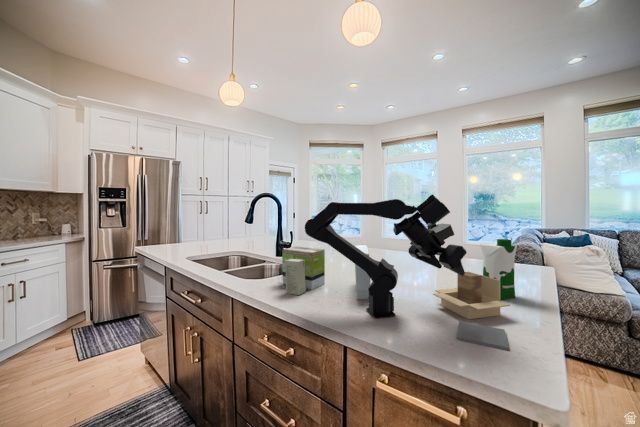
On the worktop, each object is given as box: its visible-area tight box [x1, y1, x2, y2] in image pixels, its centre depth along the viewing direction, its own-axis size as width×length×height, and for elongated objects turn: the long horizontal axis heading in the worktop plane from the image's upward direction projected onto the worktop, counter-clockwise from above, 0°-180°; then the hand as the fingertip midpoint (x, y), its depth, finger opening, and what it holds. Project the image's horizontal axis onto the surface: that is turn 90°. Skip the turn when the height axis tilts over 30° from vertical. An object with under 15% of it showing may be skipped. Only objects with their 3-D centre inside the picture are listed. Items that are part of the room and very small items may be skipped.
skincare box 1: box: [285, 259, 307, 296], centre depth 98 cm, size 6×4×12 cm
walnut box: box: [457, 271, 483, 304], centre depth 80 cm, size 4×5×11 cm
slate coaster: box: [456, 320, 510, 351], centre depth 64 cm, size 10×10×1 cm
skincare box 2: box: [354, 244, 371, 301], centre depth 100 cm, size 21×5×16 cm, turn 172°
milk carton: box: [480, 238, 518, 301], centre depth 93 cm, size 9×9×20 cm
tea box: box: [281, 246, 326, 291], centre depth 109 cm, size 15×10×15 cm, turn 58°
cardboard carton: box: [432, 271, 511, 320], centre depth 80 cm, size 14×17×10 cm
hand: (451, 270), depth 78 cm, fingers open, 9 cm apart
